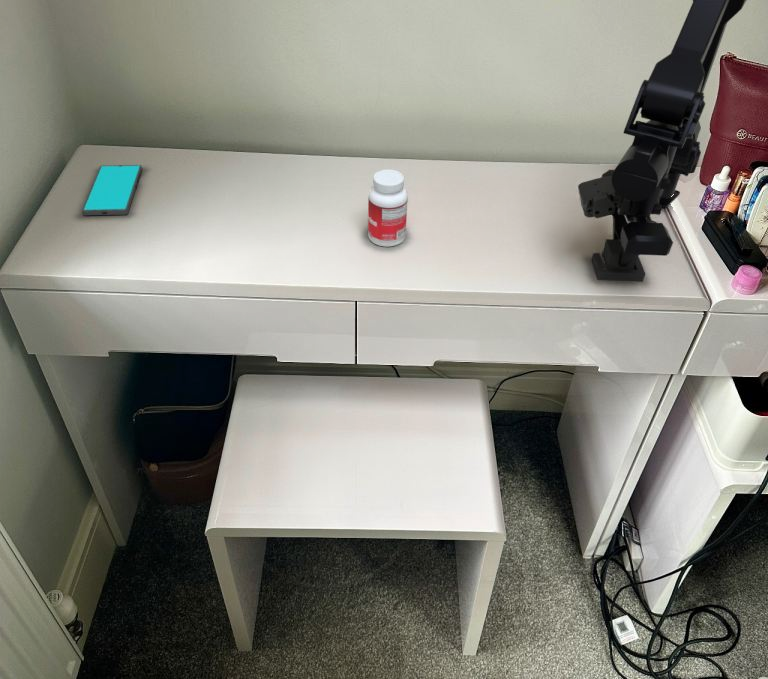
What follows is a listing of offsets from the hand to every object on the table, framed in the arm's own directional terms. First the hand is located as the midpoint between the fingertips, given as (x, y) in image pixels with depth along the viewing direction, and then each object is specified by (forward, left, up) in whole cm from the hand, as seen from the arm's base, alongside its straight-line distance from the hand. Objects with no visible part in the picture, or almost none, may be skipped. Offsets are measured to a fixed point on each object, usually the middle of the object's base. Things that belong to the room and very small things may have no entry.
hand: (619, 257), depth 109 cm
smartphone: (+38, -76, -2) cm, 85 cm away
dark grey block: (0, 0, -1) cm, 1 cm away
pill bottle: (+17, -32, -2) cm, 37 cm away
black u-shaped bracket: (0, 0, -2) cm, 2 cm away
